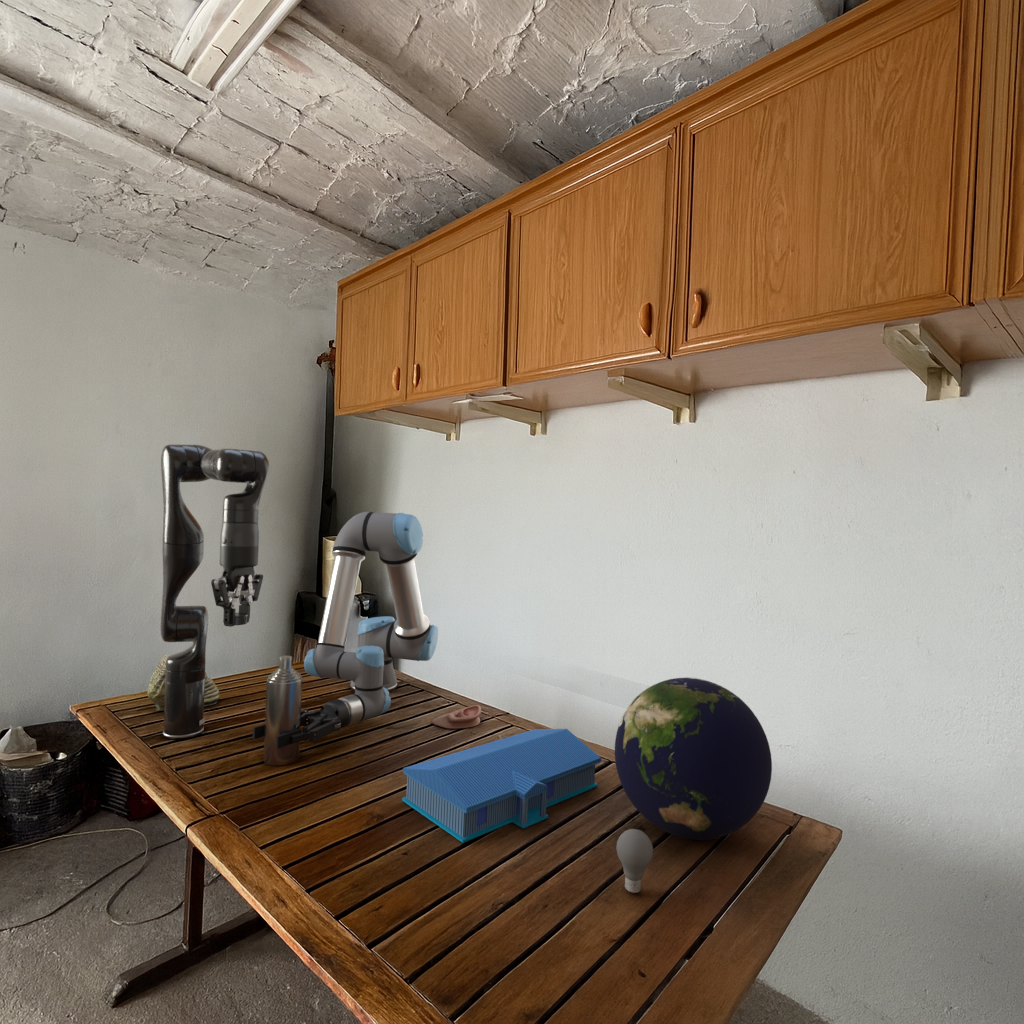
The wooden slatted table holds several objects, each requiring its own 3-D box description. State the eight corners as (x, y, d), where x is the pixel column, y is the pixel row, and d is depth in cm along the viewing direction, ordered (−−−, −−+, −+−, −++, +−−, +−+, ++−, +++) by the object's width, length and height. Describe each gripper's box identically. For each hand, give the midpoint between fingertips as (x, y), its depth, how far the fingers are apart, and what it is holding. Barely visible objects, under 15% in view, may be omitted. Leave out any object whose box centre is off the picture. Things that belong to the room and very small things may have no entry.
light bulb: (610, 879, 108) (613, 822, 108) (644, 879, 109) (647, 822, 109) (619, 902, 102) (622, 840, 102) (655, 901, 103) (658, 840, 103)
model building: (473, 850, 116) (475, 796, 115) (400, 799, 134) (402, 752, 134) (609, 791, 142) (611, 746, 142) (533, 755, 160) (535, 716, 160)
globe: (594, 848, 118) (602, 688, 118) (628, 784, 146) (634, 654, 145) (767, 892, 107) (776, 715, 106) (767, 813, 134) (775, 673, 134)
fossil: (144, 707, 182) (145, 655, 182) (212, 696, 194) (213, 647, 194) (151, 716, 175) (153, 662, 175) (221, 703, 188) (223, 653, 188)
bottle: (265, 753, 155) (269, 653, 154) (299, 751, 157) (304, 652, 157) (261, 766, 147) (266, 661, 147) (298, 764, 149) (302, 660, 149)
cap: (221, 624, 133) (222, 615, 133) (235, 621, 137) (235, 612, 137) (238, 626, 132) (238, 616, 132) (251, 622, 136) (251, 613, 136)
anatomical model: (428, 712, 177) (441, 699, 188) (427, 726, 177) (440, 713, 188) (474, 717, 174) (484, 704, 186) (473, 731, 174) (484, 718, 186)
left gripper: (231, 546, 127) (228, 632, 127) (275, 543, 140) (272, 620, 141) (200, 544, 129) (197, 628, 129) (246, 541, 142) (244, 617, 142)
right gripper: (368, 736, 161) (292, 765, 142) (314, 718, 173) (237, 742, 154) (369, 707, 161) (294, 732, 142) (315, 690, 173) (239, 711, 154)
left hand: (236, 623), depth 135 cm, fingers closed on cap, 4 cm apart
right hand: (265, 737), depth 148 cm, fingers closed on bottle, 8 cm apart
